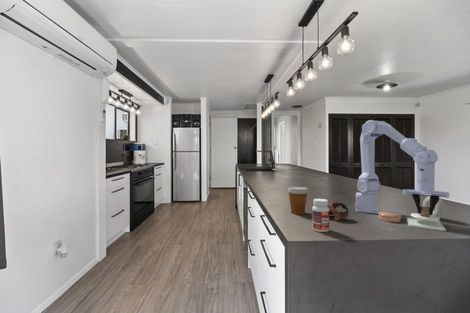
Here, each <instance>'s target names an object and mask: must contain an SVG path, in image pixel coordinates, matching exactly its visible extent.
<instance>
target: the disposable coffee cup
mask: <svg viewBox="0 0 470 313" xmlns="http://www.w3.org/2000/svg"><path fill="white" fill-rule="evenodd" d="M287 192H288V196H289V205H290V206H289V207H290V212H291V214H294V215H304V214H305V213H306V212H305V211H306V205H307V204H306V203H307V198H308V193H309V190H308V188H307V187H305V186H289V187H288V189H287Z"/></svg>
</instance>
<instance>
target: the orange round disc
mask: <svg viewBox="0 0 470 313" xmlns="http://www.w3.org/2000/svg"><path fill="white" fill-rule="evenodd" d="M401 218H402V214H401V213H399V212H398V213H397V212H393V211H378V220H380V221H383V222H387V223H401V220H402V219H401Z"/></svg>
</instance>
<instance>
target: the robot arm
mask: <svg viewBox="0 0 470 313" xmlns="http://www.w3.org/2000/svg"><path fill="white" fill-rule="evenodd" d="M361 129H362V132H361V134H360V137H359V143H360V158H361V159H360V162H361V163H360V164H361V174H360V176H359V177H358V182H357V184H356V188H357V191H359V192H355V203H354V208H355V210H354V211H355V212H358V213H366V214H376V215H377V214H378V212H379V209H378V193H379V191H380V189H381V188H382V187H381V185H382V184H381V183H380V180H379V176H378V175H377V174H376V171H375V156H374V153H375V152H374V141H375V140H376V139H377V138H378V137H380V136H382V135H385V136H387V137H389V138H390V139H392V140H393V141H394V142H396V143H397V144H399V147H400V149H401V150H402V151H403V152H405V153H406V154H407V155H409V156H410V157H411V158H413V161H414V162H415V164H416V181H415V182H416V183H415V184H416V187H415V188H416V189H404V188H403V189H402V195H404V196H407V195H408V196H411V197H412V198H413V200H414V204H415V207H416V210H417V213H418V214H420V206H421V196H422V197H424V196H425V197H428V196H430V215H432V214H433V210H434V211H435V206H436V204H437V203H438V201H439V198H447V199H450V192H447V191H439V190H438V191H437V190H435V175H436V174H435V173H436V172H435V171H436V169H435V164H436V163H437V161H438V158H439V157H438V154H437V152H436V151H435V150H433V149H428V147H427V146H426V145H423V144H421V143H419V142H418V139H416V138H412V137H409V138H408V137H406V136H404V135H403V134H402V133H400V132H399V131H398V130H397V129H395V128H394V127H393V126H392V125H391V123H390V124H389V123H387V122H386V121H384V120H381V121H380V120H372V119H370V120H367V121H366V122H365V123H363V124H362V126H361ZM378 215H379V214H378Z"/></svg>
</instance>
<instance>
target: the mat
mask: <svg viewBox="0 0 470 313" xmlns="http://www.w3.org/2000/svg"><path fill="white" fill-rule="evenodd" d="M406 222H407V224H408V227H410V228H416V229H424V230H425V229H426V230H432V231H440V232H447V229H446V228H445V226H444V224H442V222H441V221H440V220H437V221H430V220H422V219H417V218H414V217H412V216H407V217H406Z"/></svg>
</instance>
